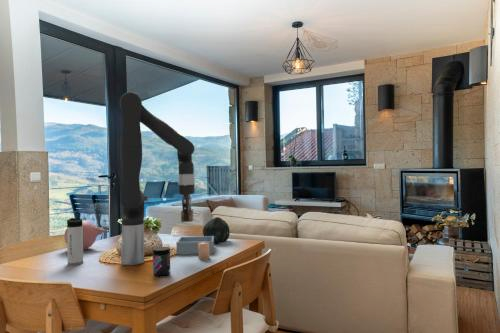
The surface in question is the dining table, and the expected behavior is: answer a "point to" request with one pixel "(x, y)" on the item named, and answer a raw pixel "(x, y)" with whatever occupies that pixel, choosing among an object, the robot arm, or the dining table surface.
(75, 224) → the travel mug
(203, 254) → the terracotta cylinder
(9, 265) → the dining table surface
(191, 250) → the tote
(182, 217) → the walnut cube
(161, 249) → the supplement container
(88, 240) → the balloon
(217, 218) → the squash
